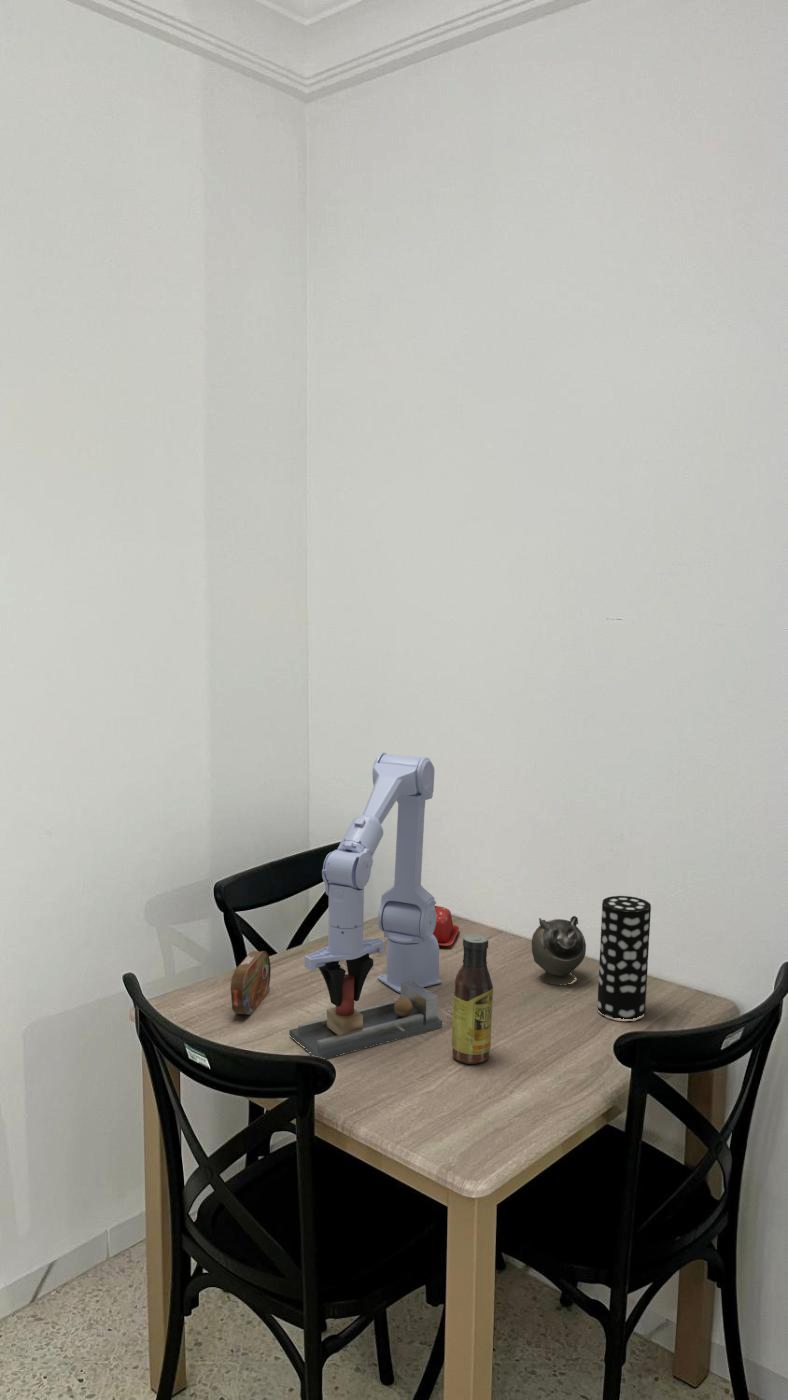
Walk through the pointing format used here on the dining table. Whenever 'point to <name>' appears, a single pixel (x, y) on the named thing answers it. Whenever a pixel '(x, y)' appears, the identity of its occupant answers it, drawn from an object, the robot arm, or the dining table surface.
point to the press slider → (345, 1011)
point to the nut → (403, 1006)
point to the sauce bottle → (472, 1003)
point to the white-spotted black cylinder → (623, 957)
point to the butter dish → (444, 927)
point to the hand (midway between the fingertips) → (345, 1001)
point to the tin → (250, 982)
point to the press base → (373, 1025)
